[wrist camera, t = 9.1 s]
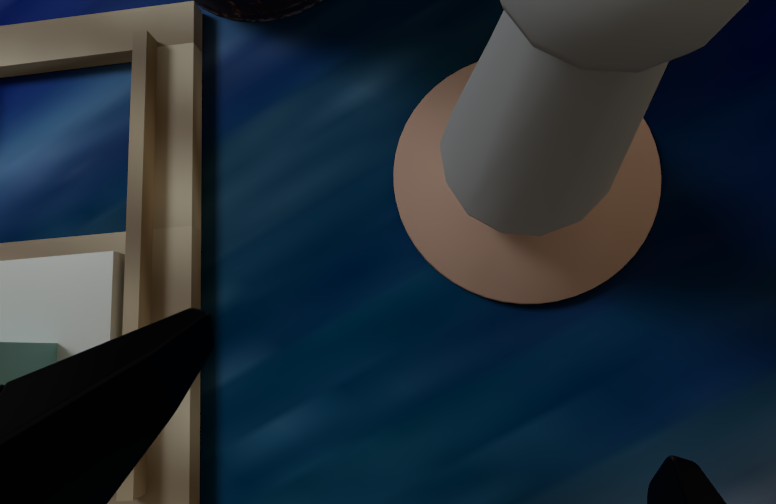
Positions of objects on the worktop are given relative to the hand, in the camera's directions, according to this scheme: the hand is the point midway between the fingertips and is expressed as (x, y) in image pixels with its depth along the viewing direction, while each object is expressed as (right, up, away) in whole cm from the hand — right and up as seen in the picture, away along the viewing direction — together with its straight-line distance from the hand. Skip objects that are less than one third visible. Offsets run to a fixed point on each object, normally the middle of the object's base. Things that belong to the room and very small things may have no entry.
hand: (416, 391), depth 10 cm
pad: (+5, +6, +10) cm, 12 cm away
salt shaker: (+4, +6, +10) cm, 12 cm away
